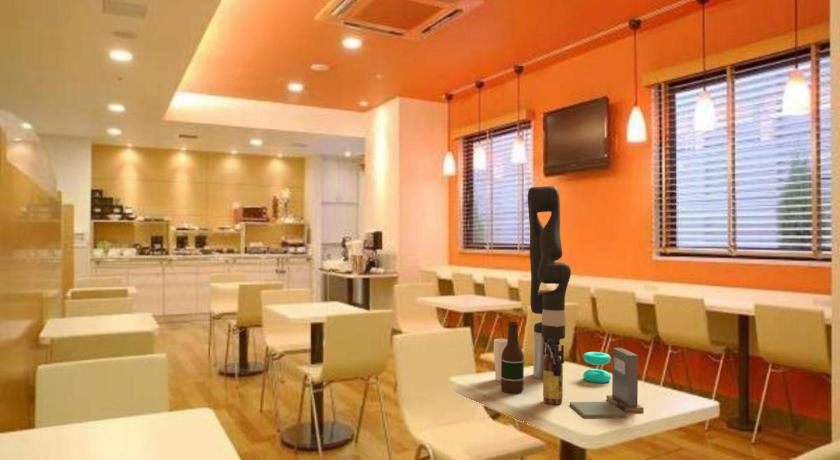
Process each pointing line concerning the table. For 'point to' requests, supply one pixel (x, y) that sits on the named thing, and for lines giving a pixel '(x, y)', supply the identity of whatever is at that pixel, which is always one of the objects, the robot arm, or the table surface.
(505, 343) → the drinking glass
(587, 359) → the donuts
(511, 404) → the table surface
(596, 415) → the mat
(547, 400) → the sauce bottle
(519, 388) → the beer bottle
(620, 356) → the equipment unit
